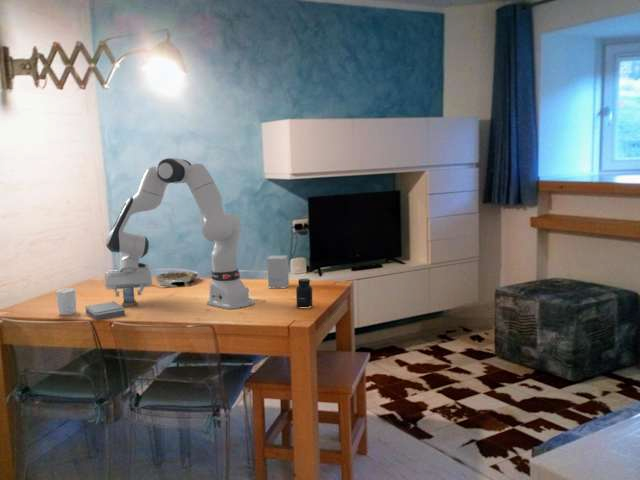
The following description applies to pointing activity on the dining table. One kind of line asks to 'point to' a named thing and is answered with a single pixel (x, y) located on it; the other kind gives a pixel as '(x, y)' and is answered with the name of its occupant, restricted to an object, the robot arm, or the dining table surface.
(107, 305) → the dock
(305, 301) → the supplement bottle
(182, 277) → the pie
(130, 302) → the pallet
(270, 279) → the supplement box
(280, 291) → the dining table surface
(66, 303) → the white cup
